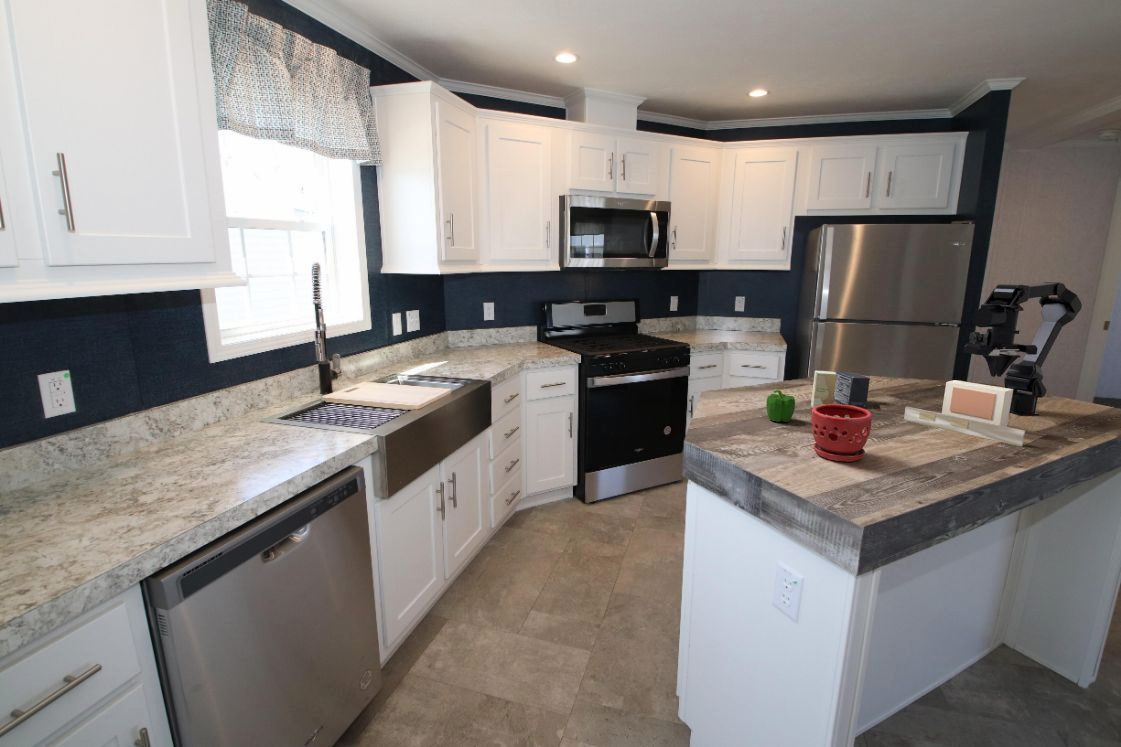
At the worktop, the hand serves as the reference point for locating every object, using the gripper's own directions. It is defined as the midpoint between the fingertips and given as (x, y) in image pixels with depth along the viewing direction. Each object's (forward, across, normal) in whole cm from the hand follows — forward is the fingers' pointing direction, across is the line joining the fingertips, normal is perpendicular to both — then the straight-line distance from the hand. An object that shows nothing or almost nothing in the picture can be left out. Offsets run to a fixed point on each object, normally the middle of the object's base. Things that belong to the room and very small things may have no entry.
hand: (995, 376), depth 163 cm
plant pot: (+13, +66, +31) cm, 74 cm away
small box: (+13, +34, -18) cm, 41 cm away
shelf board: (+13, +17, +14) cm, 26 cm away
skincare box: (+13, +46, -14) cm, 50 cm away
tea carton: (+12, +17, +14) cm, 25 cm away
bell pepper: (+13, +67, 0) cm, 68 cm away
